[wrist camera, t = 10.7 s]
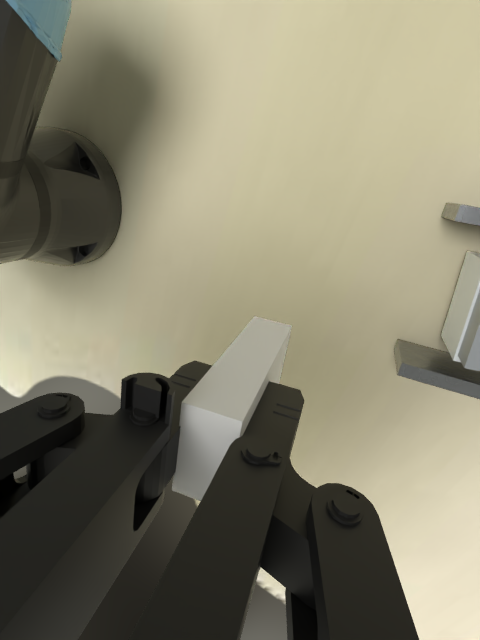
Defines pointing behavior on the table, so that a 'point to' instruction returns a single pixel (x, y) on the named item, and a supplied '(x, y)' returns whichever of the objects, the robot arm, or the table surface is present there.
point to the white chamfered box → (465, 316)
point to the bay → (433, 362)
